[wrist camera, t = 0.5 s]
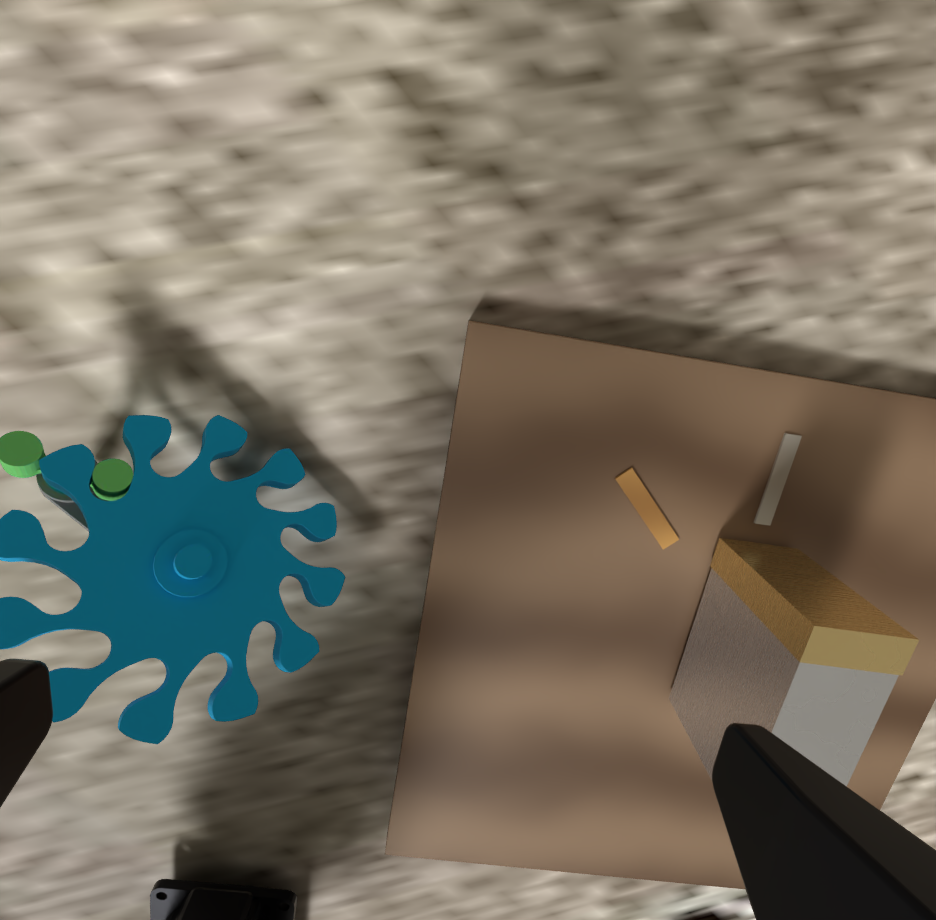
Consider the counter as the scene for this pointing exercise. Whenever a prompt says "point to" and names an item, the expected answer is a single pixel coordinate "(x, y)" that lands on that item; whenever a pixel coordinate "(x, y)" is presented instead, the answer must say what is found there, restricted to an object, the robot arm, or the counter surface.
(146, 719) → the gear
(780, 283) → the counter surface
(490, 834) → the base
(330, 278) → the counter surface
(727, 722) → the white box tan top
